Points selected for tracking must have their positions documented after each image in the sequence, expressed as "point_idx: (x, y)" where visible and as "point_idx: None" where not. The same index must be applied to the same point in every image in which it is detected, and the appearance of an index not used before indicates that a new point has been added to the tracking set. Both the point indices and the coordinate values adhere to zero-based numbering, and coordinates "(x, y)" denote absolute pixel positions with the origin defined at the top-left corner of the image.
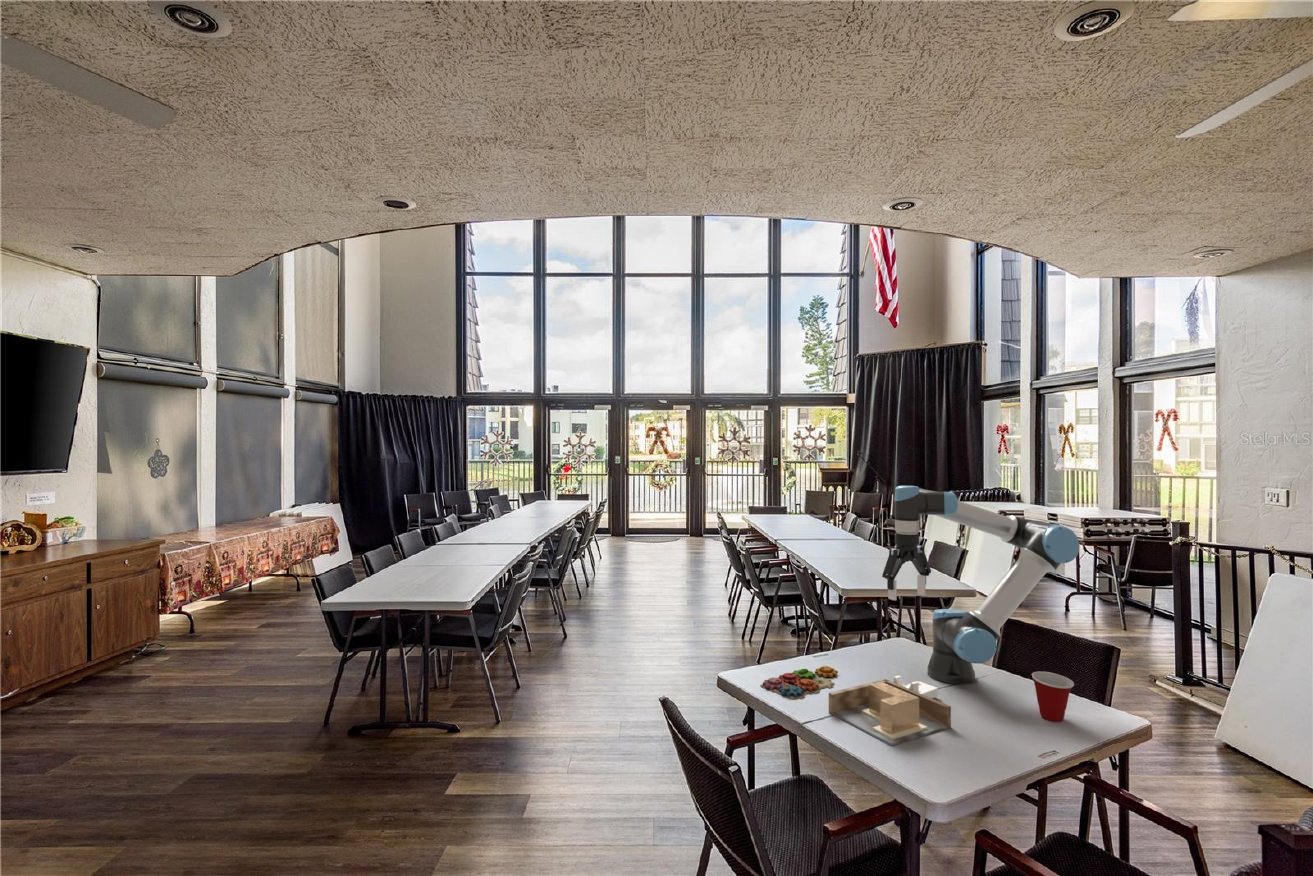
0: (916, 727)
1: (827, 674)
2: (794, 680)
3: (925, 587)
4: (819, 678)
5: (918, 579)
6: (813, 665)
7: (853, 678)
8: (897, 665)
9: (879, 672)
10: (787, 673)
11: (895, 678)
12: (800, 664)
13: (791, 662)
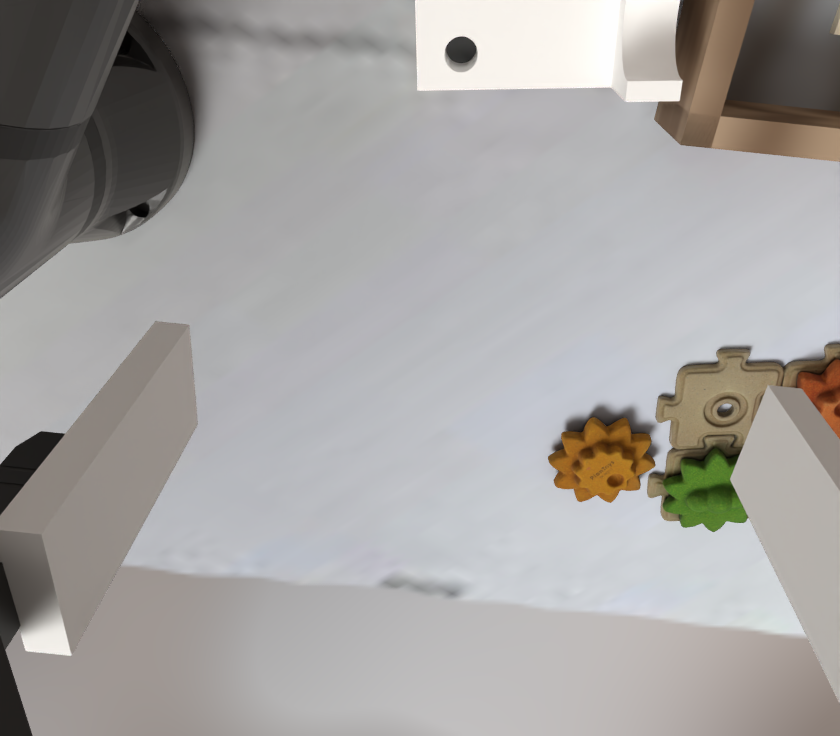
0: None
1: (633, 439)
2: None
3: (105, 387)
4: (687, 436)
5: (104, 567)
6: (548, 539)
7: (542, 366)
8: (214, 356)
9: (370, 348)
10: None
11: (681, 84)
12: (582, 569)
13: (592, 597)
